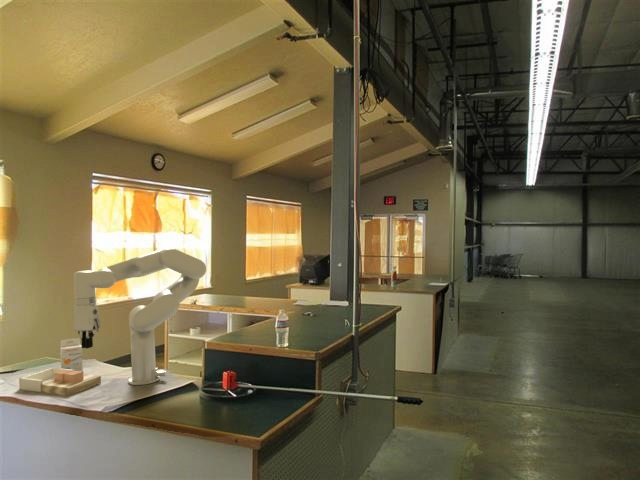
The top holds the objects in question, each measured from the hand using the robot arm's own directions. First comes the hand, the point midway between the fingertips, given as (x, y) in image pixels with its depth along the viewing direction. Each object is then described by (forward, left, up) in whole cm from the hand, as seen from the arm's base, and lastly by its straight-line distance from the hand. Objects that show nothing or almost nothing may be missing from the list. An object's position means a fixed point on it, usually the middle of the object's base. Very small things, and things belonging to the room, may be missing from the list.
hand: (87, 347), depth 197 cm
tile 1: (+12, -5, -14) cm, 20 cm away
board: (+9, -4, -17) cm, 20 cm away
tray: (+21, -9, -17) cm, 29 cm away
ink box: (+19, -27, -17) cm, 37 cm away
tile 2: (+7, -3, -14) cm, 16 cm away
